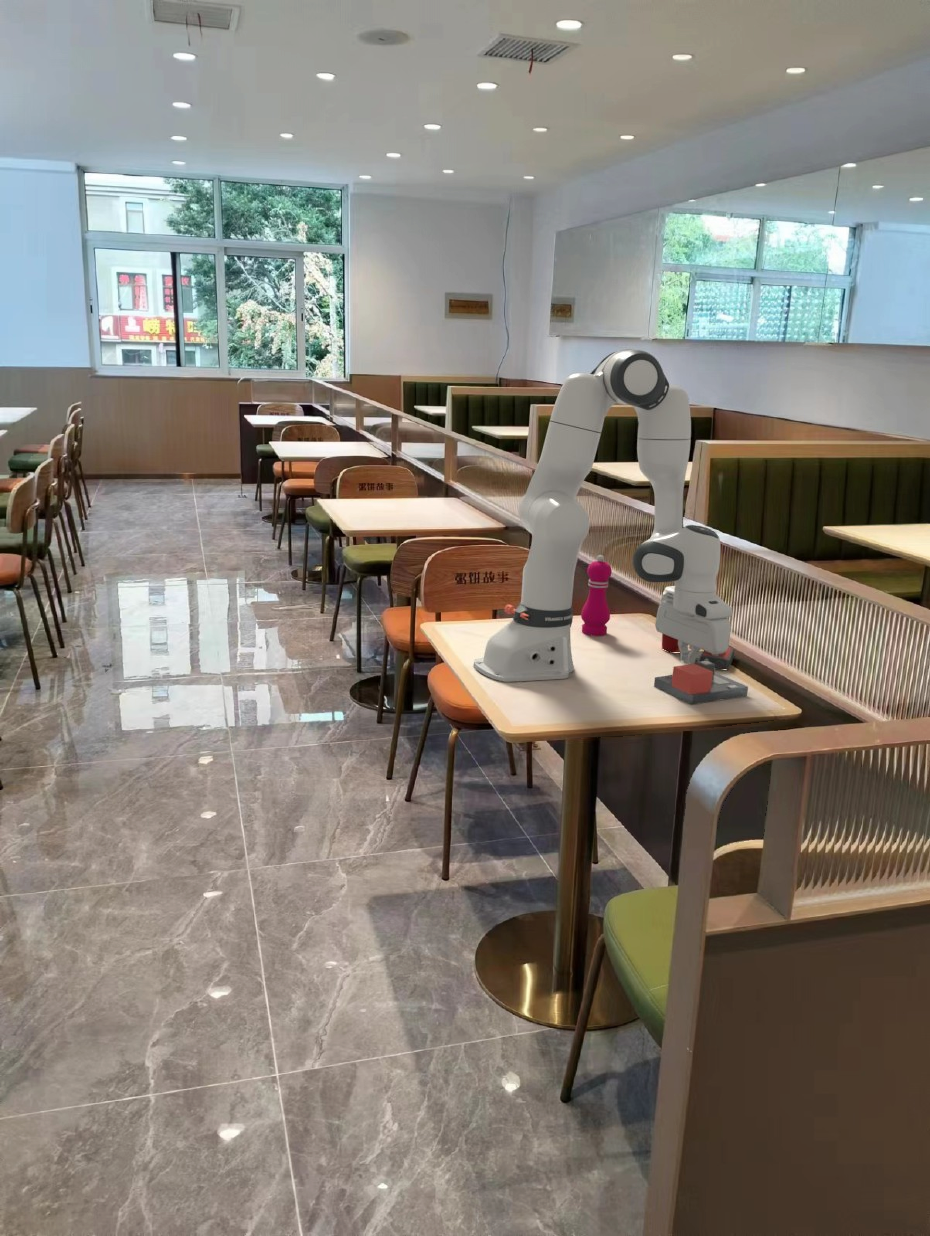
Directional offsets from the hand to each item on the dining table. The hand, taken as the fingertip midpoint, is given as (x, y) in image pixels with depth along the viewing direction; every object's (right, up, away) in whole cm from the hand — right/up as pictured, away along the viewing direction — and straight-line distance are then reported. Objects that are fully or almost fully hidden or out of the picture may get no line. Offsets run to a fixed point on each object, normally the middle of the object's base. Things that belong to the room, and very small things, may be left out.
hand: (687, 662), depth 212 cm
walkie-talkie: (+8, -2, +10) cm, 12 cm away
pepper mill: (-16, +6, +31) cm, 36 cm away
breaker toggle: (+3, -2, -5) cm, 6 cm away
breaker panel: (+1, -6, -9) cm, 11 cm away
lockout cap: (-2, -5, -14) cm, 15 cm away
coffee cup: (+1, +2, +20) cm, 20 cm away
